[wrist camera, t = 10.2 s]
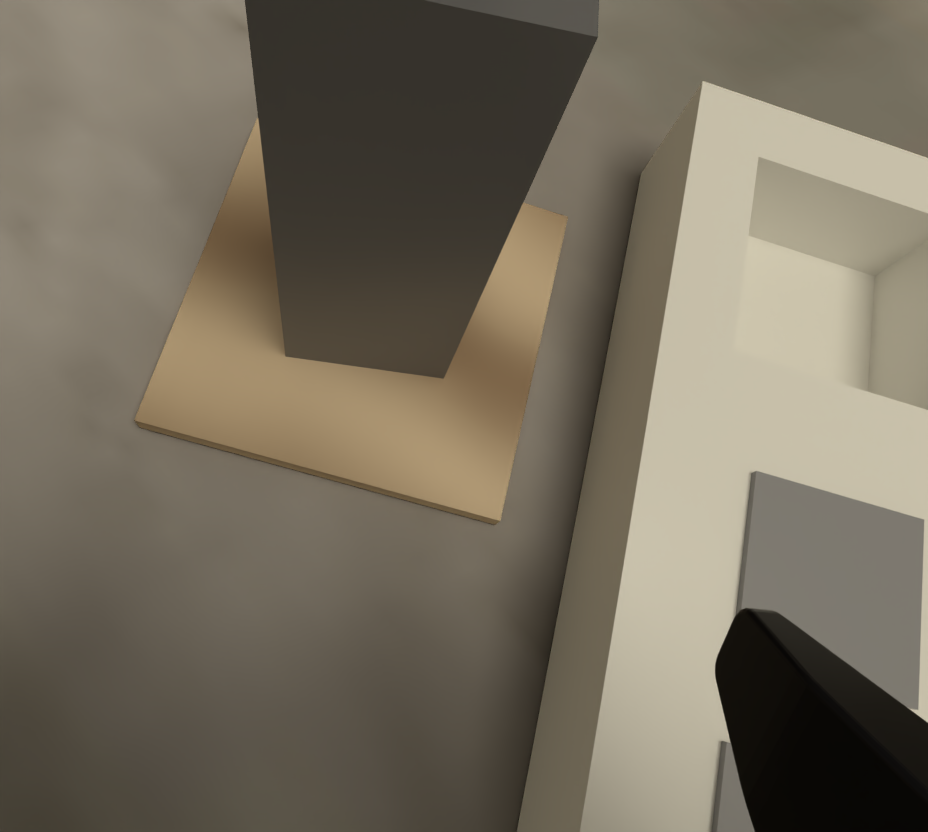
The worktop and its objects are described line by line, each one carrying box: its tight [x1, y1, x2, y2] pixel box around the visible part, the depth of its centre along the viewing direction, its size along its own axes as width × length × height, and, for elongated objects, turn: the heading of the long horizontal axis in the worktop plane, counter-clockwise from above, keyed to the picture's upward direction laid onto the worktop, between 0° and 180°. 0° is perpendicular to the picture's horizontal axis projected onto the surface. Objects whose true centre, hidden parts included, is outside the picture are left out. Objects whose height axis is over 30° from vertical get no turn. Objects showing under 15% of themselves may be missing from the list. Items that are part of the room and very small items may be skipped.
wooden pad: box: [134, 118, 568, 525], centre depth 20 cm, size 9×9×1 cm
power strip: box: [517, 81, 928, 832], centre depth 18 cm, size 22×9×5 cm, turn 165°
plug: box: [245, 0, 599, 379], centre depth 13 cm, size 3×4×14 cm
